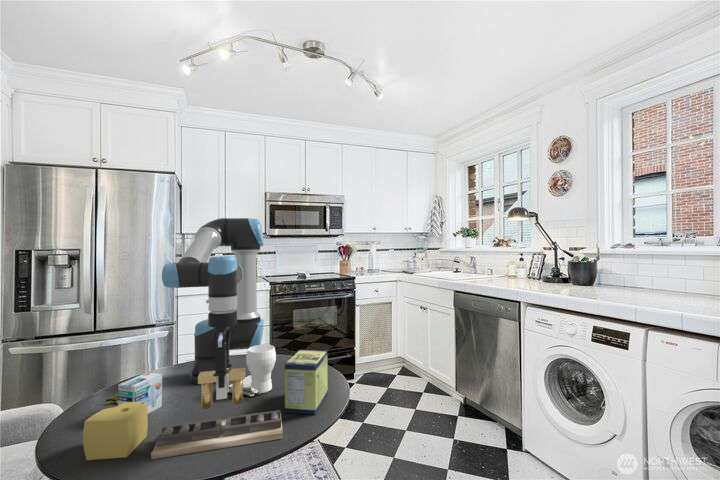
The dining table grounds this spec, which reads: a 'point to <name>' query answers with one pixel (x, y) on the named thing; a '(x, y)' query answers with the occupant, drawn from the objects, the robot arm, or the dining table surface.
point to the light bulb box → (142, 390)
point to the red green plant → (113, 400)
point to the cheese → (115, 431)
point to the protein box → (306, 381)
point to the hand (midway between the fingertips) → (222, 395)
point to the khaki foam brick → (208, 379)
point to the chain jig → (217, 434)
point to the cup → (261, 366)
